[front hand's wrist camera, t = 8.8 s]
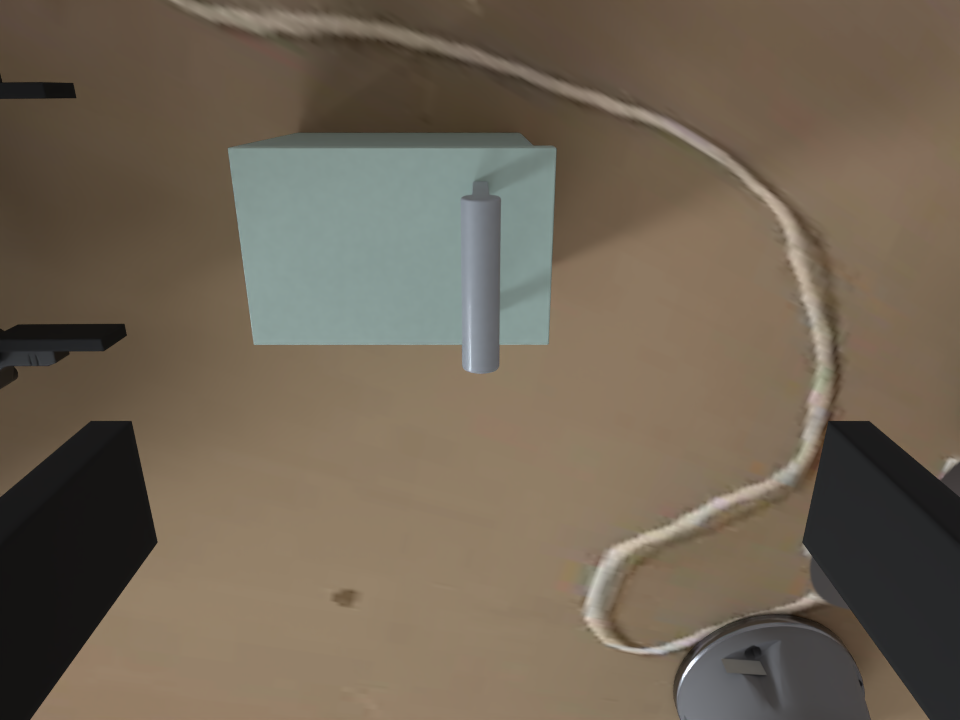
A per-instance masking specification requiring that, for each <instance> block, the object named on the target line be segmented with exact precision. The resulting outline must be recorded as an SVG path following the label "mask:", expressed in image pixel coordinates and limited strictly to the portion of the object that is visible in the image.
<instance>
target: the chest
mask: <svg viewBox="0 0 960 720" xmlns="http://www.w3.org/2000/svg"><path fill="white" fill-rule="evenodd" d="M239 146H533V145H532V144H531V143H530V142H529V141H528V140H527V139H526V138H525V137H524V136H523V135H522V134H520V133H294V134H290V135H285V136H280V137H276V138H271V139H267V140H262V141H257V142H253V143H248V144H243V145H239Z"/></svg>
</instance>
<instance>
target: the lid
mask: <svg viewBox="0 0 960 720" xmlns="http://www.w3.org/2000/svg"><path fill="white" fill-rule="evenodd" d="M228 153H229V161H230V168H231V176H232V184H233V191H234V199H235V206H236V214H237V221H238V229H239V236H240V244H241V251H242V259H243V266H244V274H245V281H246V289H247V296H248V304H249V311H250V319H251V326H252V334H253V341H254V345H462V366H463V368H464V369H465V370H466V371H468V372H471V373H490V372H493V371H495V370H497V369H498V367H499V345H528V344H549V323H550V298H551V273H552V248H553V224H554V199H555V174H556V147H554V146H234V147H229V148H228Z"/></svg>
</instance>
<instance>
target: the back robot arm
mask: <svg viewBox="0 0 960 720" xmlns="http://www.w3.org/2000/svg"><path fill="white" fill-rule="evenodd" d="M35 98H76V94H75V89H74V85H73V83H51V82H9V83H2V79H1V75H0V99H35ZM125 336H127V334H126V329H125V324H21V325H16V326H14V327H12V328H10V329H8V330H6V331H3V330H2V329H0V389H1V388H3V387H4V386H6V385H8V384H9V383H11V382H12V381H14V380H16V379H17V377H18V372H17V370H16V368H15V367H14V366H49V365H52V364H54V363H56V362H58V361H60V360H61V359H63V358H64V357H66V356H67V355H69V351H105V350H106V349H108V348H109V347H111V346H112V345H114V344H115V343H117V342H118V341H120V340H121V339H122V338H124V337H125Z"/></svg>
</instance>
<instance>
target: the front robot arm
mask: <svg viewBox="0 0 960 720" xmlns="http://www.w3.org/2000/svg"><path fill="white" fill-rule="evenodd" d="M157 543H158V542H157V537H156V533H155V528H154V523H153V519H152V514H151V509H150V505H149V500H148V495H147V491H146V486H145V481H144V477H143V472H142V468H141V463H140V458H139V454H138V449H137V444H136V440H135V435H134V430H133V426H132V421H90V422H89V423H88V424H87V425H86V426H84V427H83V428H82V429H81V430H80V431H79V432H77V433H76V434H75V435H74V436H73V437H71V438H70V439H69V440H68V441H67V442H65V443H64V444H63V445H62V446H61V447H59V448H58V449H57V450H56V451H55V452H54V453H52V454H51V455H50V456H49V457H48V458H46V459H45V460H44V461H43V462H42V463H40V464H39V465H38V466H37V467H36V468H35V469H33V470H32V471H31V472H30V473H29V474H27V475H26V476H25V477H24V478H23V479H21V480H20V481H19V482H18V483H17V484H16V485H14V486H13V487H12V488H11V489H10V490H8V491H7V492H6V493H5V494H4V495H2V496H1V497H0V720H30V719H31V718H32V716H33V715H34V714H35V712H36V711H37V710H38V708H39V707H40V705H41V704H42V703H43V701H44V700H45V698H46V697H47V696H48V694H49V693H50V691H51V690H52V689H53V687H54V686H55V684H56V683H57V682H58V680H59V679H60V677H61V676H62V675H63V673H64V672H65V671H66V669H67V668H68V666H69V665H70V664H71V662H72V661H73V659H74V658H75V657H76V655H77V654H78V652H79V651H80V650H81V648H82V647H83V645H84V644H85V643H86V641H87V640H88V639H89V637H90V636H91V634H92V633H93V632H94V630H95V629H96V627H97V626H98V625H99V623H100V622H101V620H102V619H103V618H104V616H105V615H106V613H107V612H108V611H109V609H110V608H111V607H112V605H113V604H114V602H115V601H116V600H117V598H118V597H119V595H120V594H121V593H122V591H123V590H124V588H125V587H126V586H127V584H128V583H129V581H130V580H131V579H132V577H133V576H134V575H135V573H136V572H137V570H138V569H139V568H140V566H141V565H142V563H143V562H144V561H145V559H146V558H147V556H148V555H149V554H150V552H151V551H152V549H153V548H154V547H155V545H156V544H157ZM802 543H803V544H804V545H805V547H806V548H807V549H808V551H809V552H810V554H811V555H812V556H813V558H814V559H815V561H816V562H817V563H818V565H819V566H820V568H821V569H822V570H823V572H824V573H825V575H826V576H827V577H828V579H829V580H830V581H831V583H832V584H833V586H834V587H835V588H836V590H837V591H838V593H839V594H840V595H841V597H842V598H843V600H844V601H845V602H846V604H847V605H848V607H849V608H850V609H851V611H852V612H853V613H854V615H855V616H856V618H857V619H858V620H859V622H860V623H861V625H862V626H863V627H864V629H865V630H866V632H867V633H868V634H869V636H870V637H871V639H872V640H873V641H874V643H875V644H876V645H877V647H878V648H879V650H880V651H881V652H882V654H883V655H884V657H885V658H886V659H887V661H888V662H889V664H890V665H891V666H892V668H893V669H894V671H895V672H896V673H897V675H898V676H899V677H900V679H901V680H902V682H903V683H904V684H905V686H906V687H907V689H908V690H909V691H910V693H911V694H912V696H913V697H914V698H915V700H916V701H917V703H918V704H919V705H920V707H921V708H922V710H923V711H924V712H925V714H926V715H927V716H928V718H929V719H930V720H960V497H959V496H958V495H956V494H955V493H954V492H953V491H952V490H950V489H949V488H948V487H947V486H946V485H944V484H943V483H942V482H941V481H940V480H939V479H937V478H936V477H935V476H934V475H933V474H931V473H930V472H929V471H928V470H927V469H925V468H924V467H923V466H922V465H921V464H920V463H918V462H917V461H916V460H915V459H914V458H912V457H911V456H910V455H909V454H908V453H906V452H905V451H904V450H903V449H902V448H901V447H899V446H898V445H897V444H896V443H895V442H893V441H892V440H891V439H890V438H889V437H887V436H886V435H885V434H884V433H883V432H881V431H880V430H879V429H878V428H877V427H876V426H874V425H873V424H872V423H871V422H870V421H828V426H827V430H826V435H825V440H824V444H823V449H822V454H821V458H820V463H819V468H818V472H817V477H816V481H815V486H814V491H813V495H812V500H811V505H810V509H809V514H808V519H807V523H806V528H805V533H804V537H803V542H802ZM673 695H674V702H675V706H676V709H677V712H678V715H679V718H680V720H871V718H870V715H869V712H868V708H867V705H866V701H865V691H864V686H863V680H862V677H861V674H860V672H859V670H858V667H857V665H856V663H855V661H854V659H853V657H852V656H851V654H850V653H849V651H848V650H847V648H846V647H845V645H844V644H843V642H842V641H841V640H840V639H839V638H838V637H837V636H836V635H835V634H834V633H833V632H832V631H830V630H829V629H827V628H826V627H824V626H822V625H820V624H818V623H816V622H814V621H811V620H808V619H805V618H801V617H796V616H789V615H764V616H756V617H751V618H747V619H743V620H739V621H736V622H734V623H731V624H729V625H726V626H724V627H722V628H720V629H718V630H716V631H714V632H713V633H711V634H710V635H708V636H707V637H705V638H704V639H703V640H701V641H700V642H699V643H698V644H697V645H696V646H695V647H694V648H693V649H692V650H691V651H690V652H689V653H688V654H687V656H686V657H685V658H684V660H683V661H682V663H681V665H680V667H679V669H678V671H677V674H676V677H675V681H674V687H673Z"/></svg>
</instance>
